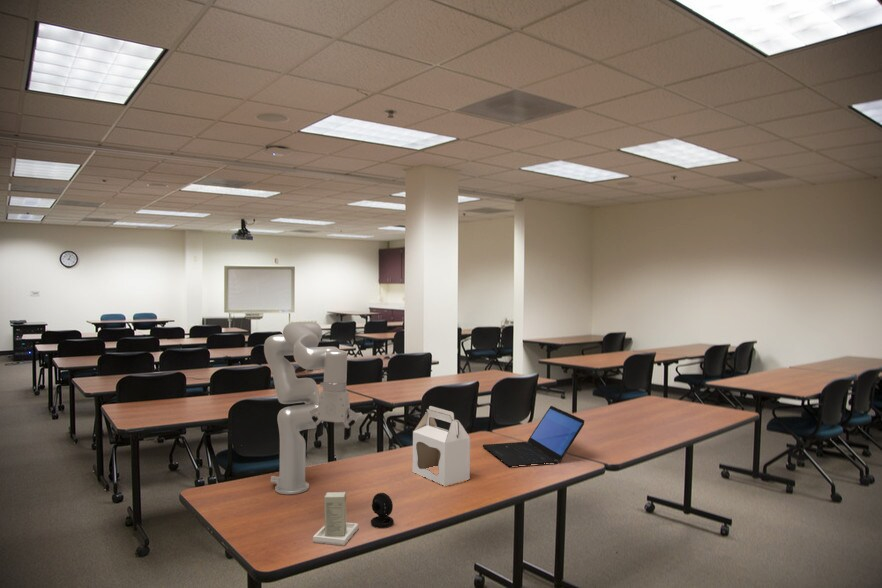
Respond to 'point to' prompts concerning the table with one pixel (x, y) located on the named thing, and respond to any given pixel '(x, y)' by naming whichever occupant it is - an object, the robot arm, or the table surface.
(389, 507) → the webcam
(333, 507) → the skincare box
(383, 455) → the table surface
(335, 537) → the tray
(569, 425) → the laptop
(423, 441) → the gable box
